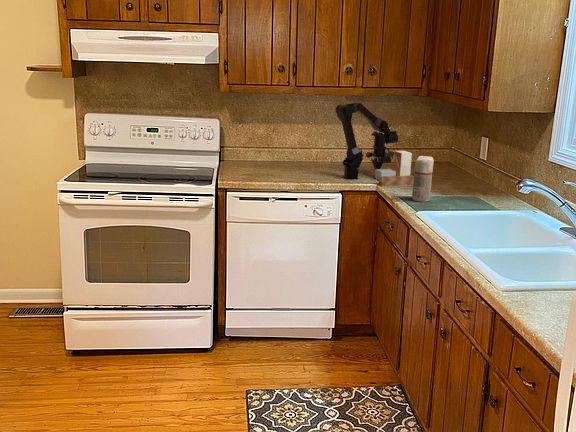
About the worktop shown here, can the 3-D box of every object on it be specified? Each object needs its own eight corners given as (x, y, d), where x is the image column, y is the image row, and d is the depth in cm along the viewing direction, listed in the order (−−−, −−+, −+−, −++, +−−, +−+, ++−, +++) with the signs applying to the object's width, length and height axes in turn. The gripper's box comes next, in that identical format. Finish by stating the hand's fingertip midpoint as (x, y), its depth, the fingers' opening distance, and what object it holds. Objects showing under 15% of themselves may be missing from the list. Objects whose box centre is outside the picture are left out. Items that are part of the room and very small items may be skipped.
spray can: (433, 202, 279) (437, 158, 274) (416, 202, 277) (419, 158, 272) (425, 197, 287) (429, 154, 282) (408, 198, 285) (412, 155, 280)
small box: (392, 174, 340) (394, 150, 337) (403, 174, 342) (405, 150, 339) (399, 177, 333) (401, 153, 329) (410, 176, 335) (412, 152, 331)
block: (380, 181, 321) (381, 172, 320) (374, 178, 329) (375, 169, 327) (395, 181, 323) (395, 171, 322) (388, 178, 331) (389, 168, 329)
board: (381, 185, 310) (381, 177, 309) (378, 184, 313) (379, 176, 312) (413, 184, 316) (414, 176, 315) (410, 183, 319) (411, 175, 318)
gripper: (401, 146, 324) (399, 176, 328) (385, 141, 341) (383, 169, 345) (382, 147, 320) (380, 176, 324) (366, 141, 337) (364, 170, 341)
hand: (377, 173), depth 334 cm, fingers closed
